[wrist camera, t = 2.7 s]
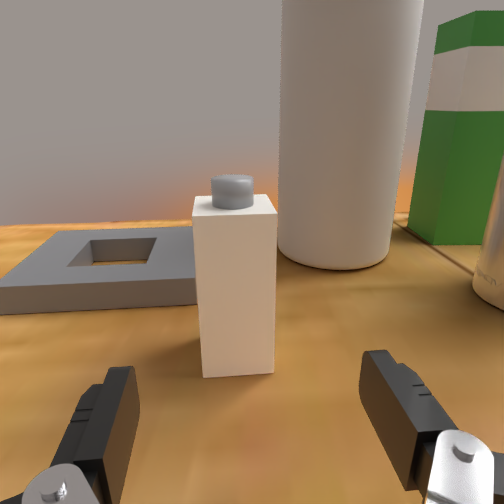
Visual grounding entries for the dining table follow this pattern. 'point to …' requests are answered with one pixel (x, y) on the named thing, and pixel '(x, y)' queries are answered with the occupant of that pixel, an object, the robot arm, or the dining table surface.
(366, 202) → the cylinder vase
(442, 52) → the green cereal box
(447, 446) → the robot arm
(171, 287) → the socket plate
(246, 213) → the white block with knob
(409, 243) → the dining table surface
